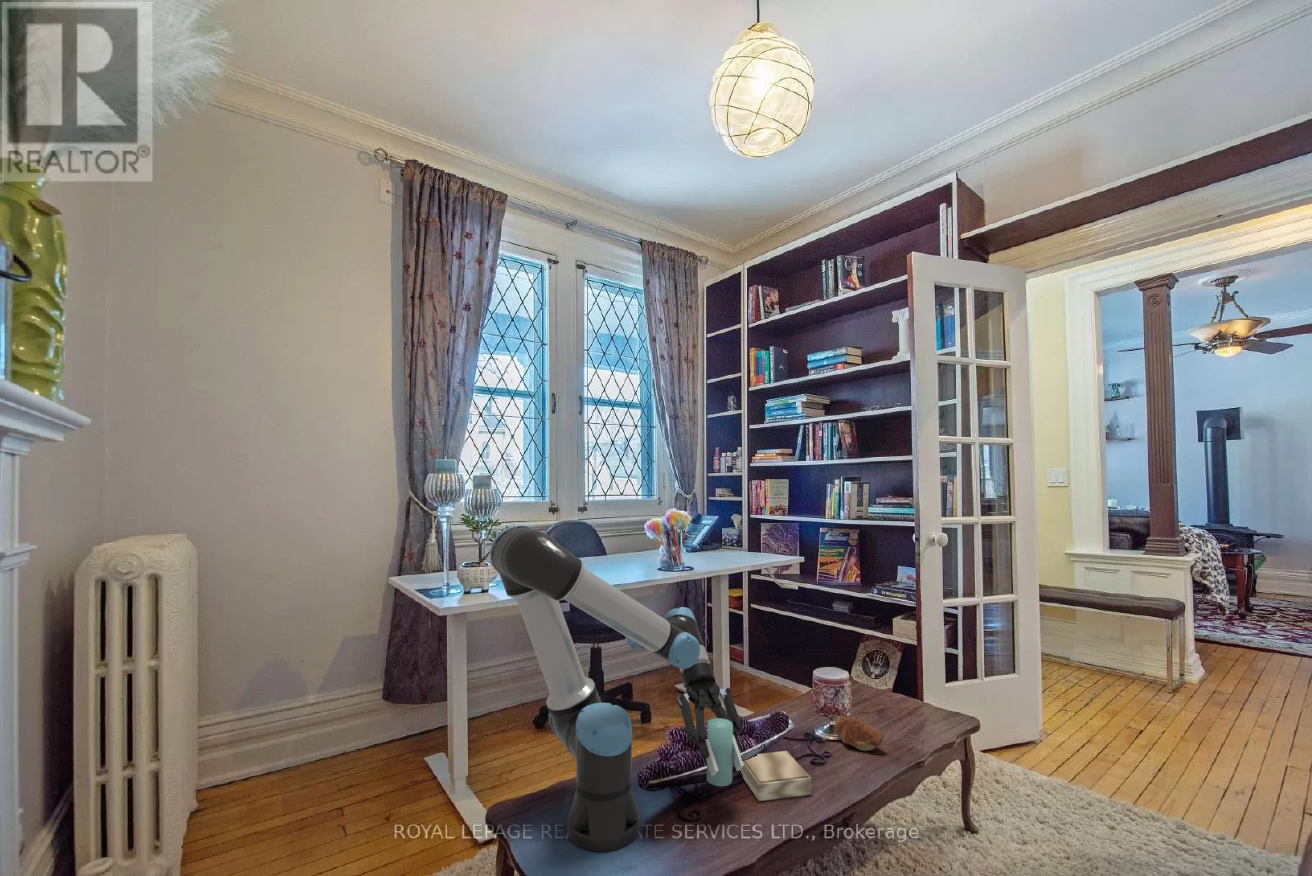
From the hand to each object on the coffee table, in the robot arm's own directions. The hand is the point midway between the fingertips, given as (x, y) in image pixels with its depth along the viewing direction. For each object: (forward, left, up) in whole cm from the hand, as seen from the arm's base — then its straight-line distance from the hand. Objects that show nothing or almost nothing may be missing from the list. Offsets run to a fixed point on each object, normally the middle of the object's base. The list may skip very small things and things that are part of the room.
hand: (727, 770), depth 123 cm
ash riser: (+15, +11, -10) cm, 22 cm away
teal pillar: (-1, +4, -4) cm, 5 cm away
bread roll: (+45, +24, -10) cm, 53 cm away
